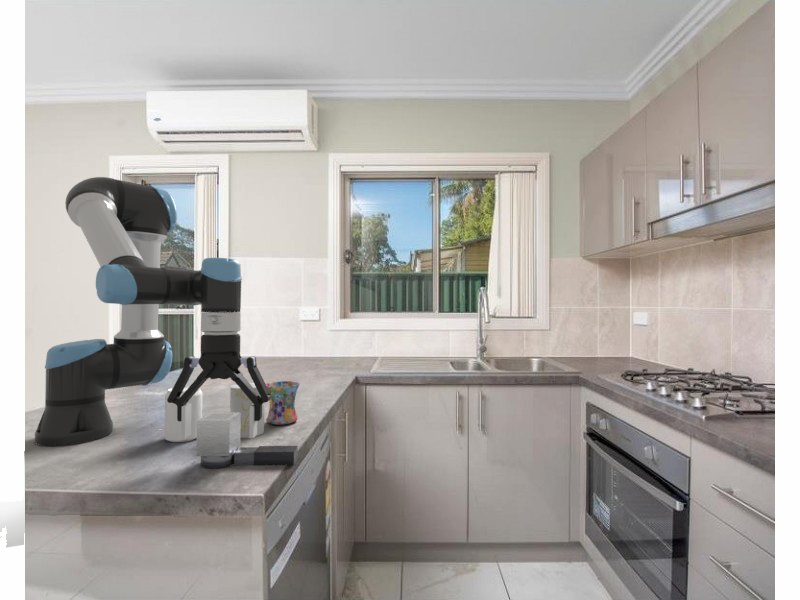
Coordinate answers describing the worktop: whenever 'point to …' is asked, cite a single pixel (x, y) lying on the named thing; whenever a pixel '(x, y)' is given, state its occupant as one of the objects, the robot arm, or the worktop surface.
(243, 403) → the cup
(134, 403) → the worktop surface
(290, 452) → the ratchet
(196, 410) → the beverage can
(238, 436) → the brushed cube with inset
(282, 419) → the mug
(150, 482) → the worktop surface
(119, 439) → the worktop surface
